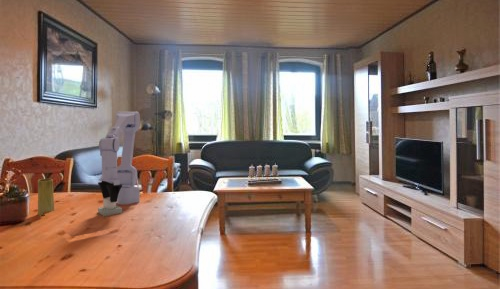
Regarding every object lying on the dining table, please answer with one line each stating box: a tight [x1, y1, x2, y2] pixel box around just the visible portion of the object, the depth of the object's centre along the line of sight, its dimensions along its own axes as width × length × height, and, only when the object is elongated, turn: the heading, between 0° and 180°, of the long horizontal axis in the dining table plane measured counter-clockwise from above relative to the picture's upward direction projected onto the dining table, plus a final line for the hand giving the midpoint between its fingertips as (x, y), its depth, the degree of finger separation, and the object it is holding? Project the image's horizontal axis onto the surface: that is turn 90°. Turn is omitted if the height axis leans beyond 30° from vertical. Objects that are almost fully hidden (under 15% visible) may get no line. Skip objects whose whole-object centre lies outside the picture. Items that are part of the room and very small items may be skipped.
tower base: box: [96, 211, 124, 217], centre depth 129 cm, size 8×8×2 cm
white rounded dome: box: [102, 197, 117, 210], centre depth 129 cm, size 5×5×4 cm
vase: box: [36, 178, 55, 217], centre depth 131 cm, size 6×6×14 cm
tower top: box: [97, 205, 123, 217], centre depth 129 cm, size 7×7×2 cm
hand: (110, 200), depth 129 cm, fingers open, 7 cm apart
